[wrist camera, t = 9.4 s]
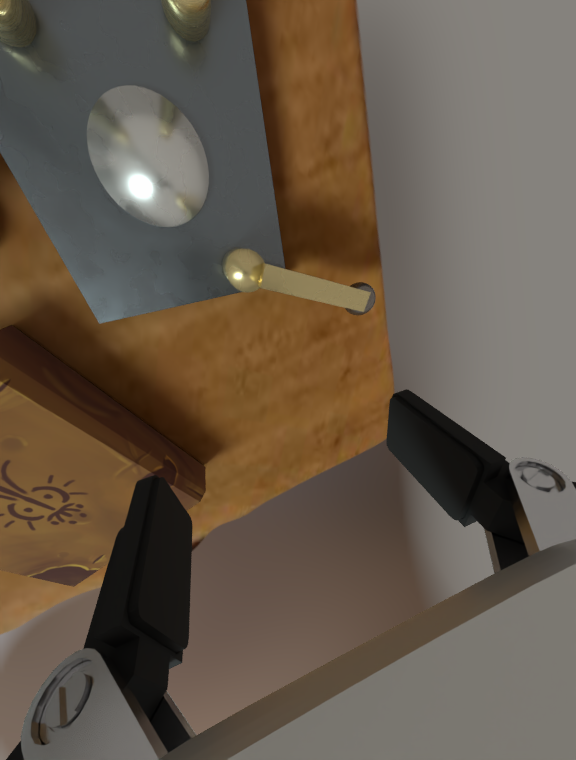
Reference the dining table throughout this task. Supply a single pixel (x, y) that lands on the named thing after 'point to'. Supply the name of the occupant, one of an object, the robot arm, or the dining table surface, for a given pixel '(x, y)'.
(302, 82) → the dining table surface
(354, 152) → the dining table surface
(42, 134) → the levelling plate
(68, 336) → the dining table surface
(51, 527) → the diary
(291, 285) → the brass lever
